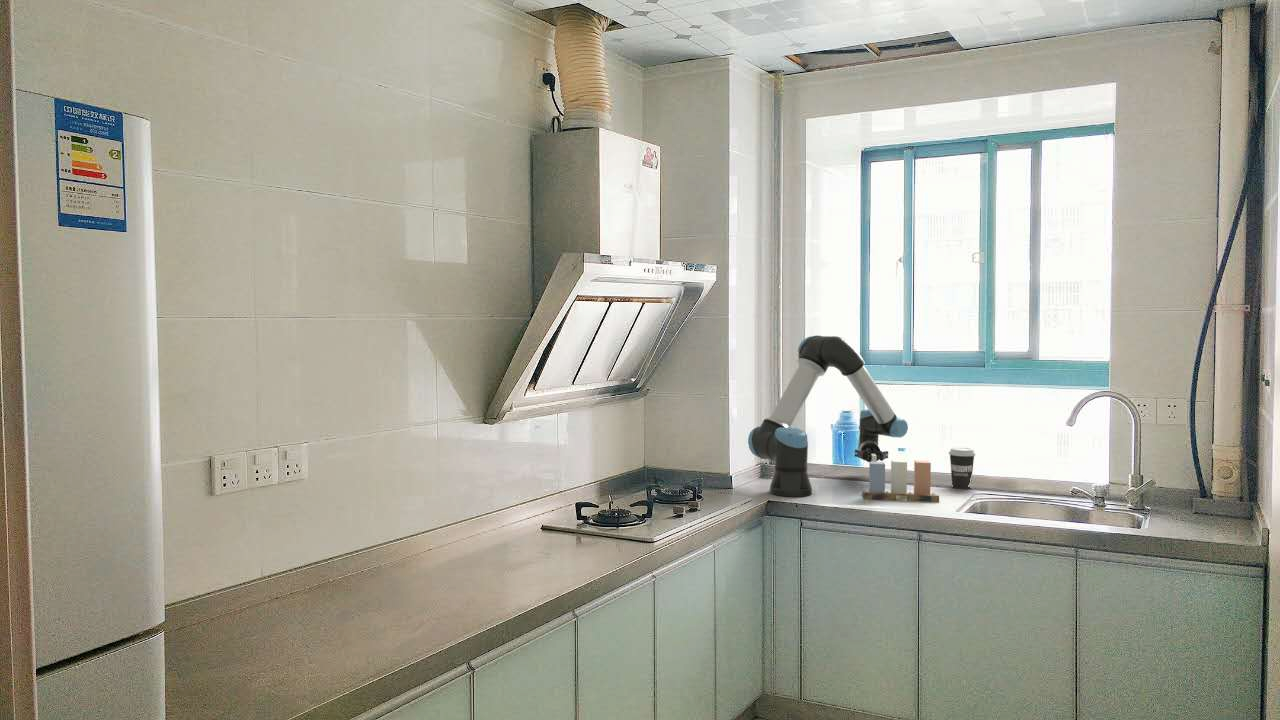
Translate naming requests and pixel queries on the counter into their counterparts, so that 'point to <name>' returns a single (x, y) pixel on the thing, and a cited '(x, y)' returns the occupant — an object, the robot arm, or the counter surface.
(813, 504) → the counter surface
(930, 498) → the brown wooden flat board
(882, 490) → the blue-grey tall block
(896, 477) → the key
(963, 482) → the coffee cup
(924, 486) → the brown tall block
